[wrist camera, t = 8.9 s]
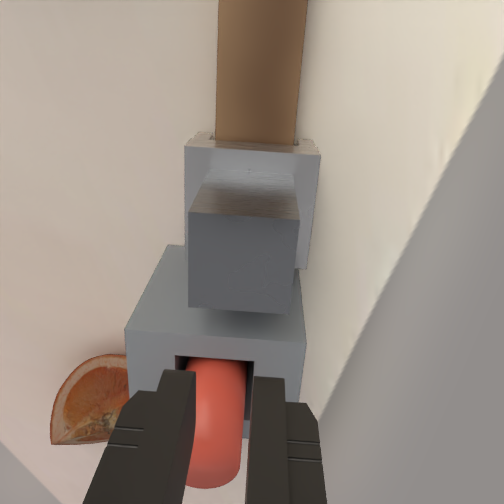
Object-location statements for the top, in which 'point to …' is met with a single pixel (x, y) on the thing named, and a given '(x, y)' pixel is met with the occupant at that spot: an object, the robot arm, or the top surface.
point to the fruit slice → (90, 401)
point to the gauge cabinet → (210, 334)
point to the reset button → (217, 420)
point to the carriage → (247, 221)
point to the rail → (259, 69)
